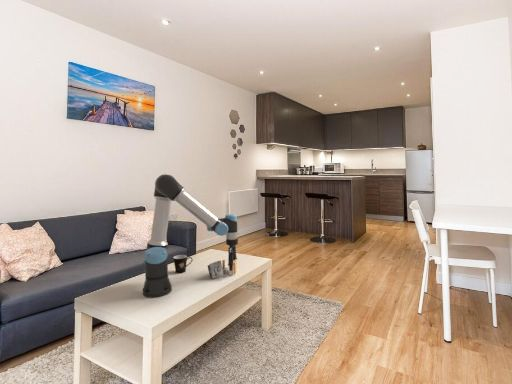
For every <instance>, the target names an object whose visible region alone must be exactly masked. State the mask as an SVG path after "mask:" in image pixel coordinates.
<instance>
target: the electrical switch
mask: <svg viewBox="0 0 512 384" xmlns="http://www.w3.org/2000/svg"><path fill="white" fill-rule="evenodd" d="M207 269H208V275H209V278H210V279H212V280H215V279H217V278H219V277H222V276H224V275H225V272H223V268H222V261H221V260H217V261H214V262H211V263H209V264H208V265H207Z"/></svg>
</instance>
